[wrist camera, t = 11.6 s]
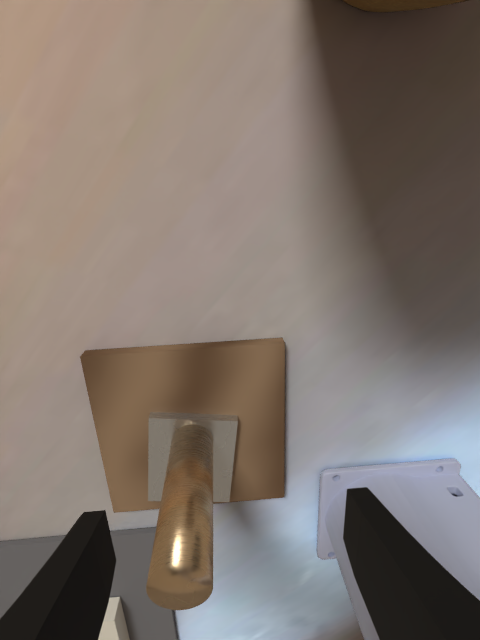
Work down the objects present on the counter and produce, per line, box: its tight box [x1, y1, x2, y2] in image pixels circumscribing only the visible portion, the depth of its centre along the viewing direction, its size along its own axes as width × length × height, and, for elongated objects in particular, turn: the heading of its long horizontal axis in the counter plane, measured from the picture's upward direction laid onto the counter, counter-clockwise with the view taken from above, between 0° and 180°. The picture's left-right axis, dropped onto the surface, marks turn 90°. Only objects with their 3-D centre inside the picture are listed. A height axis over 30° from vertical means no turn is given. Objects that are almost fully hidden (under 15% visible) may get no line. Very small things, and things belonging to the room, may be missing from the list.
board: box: [80, 338, 285, 513], centre depth 21 cm, size 11×11×1 cm
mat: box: [0, 527, 178, 640], centre depth 26 cm, size 14×18×1 cm
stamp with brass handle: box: [146, 412, 238, 610], centre depth 17 cm, size 6×5×9 cm
